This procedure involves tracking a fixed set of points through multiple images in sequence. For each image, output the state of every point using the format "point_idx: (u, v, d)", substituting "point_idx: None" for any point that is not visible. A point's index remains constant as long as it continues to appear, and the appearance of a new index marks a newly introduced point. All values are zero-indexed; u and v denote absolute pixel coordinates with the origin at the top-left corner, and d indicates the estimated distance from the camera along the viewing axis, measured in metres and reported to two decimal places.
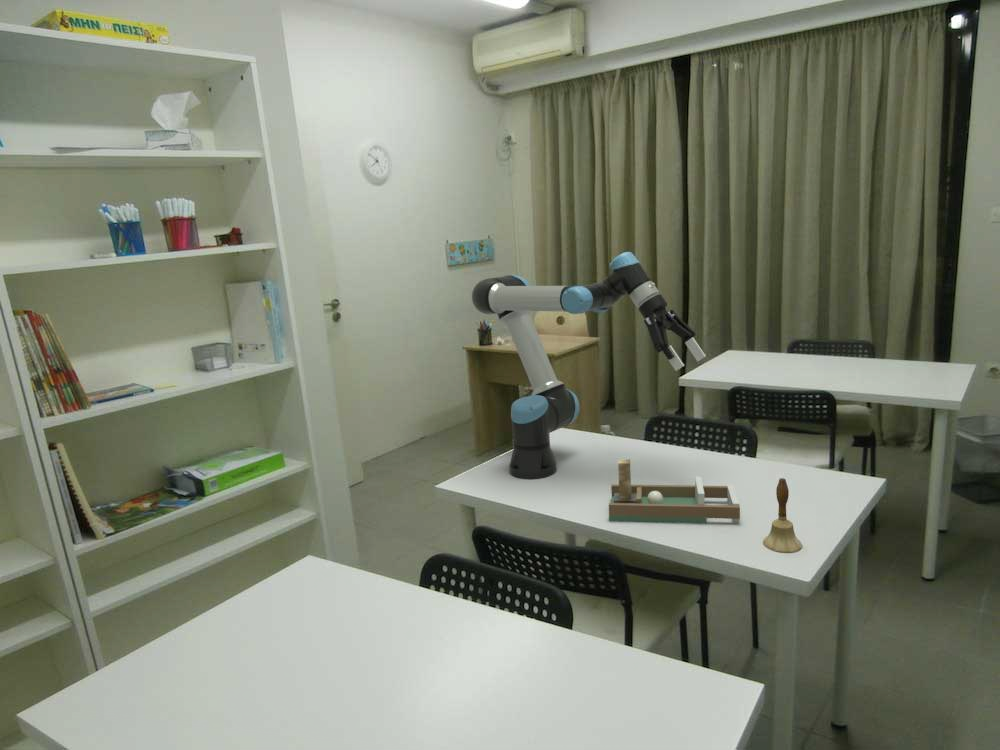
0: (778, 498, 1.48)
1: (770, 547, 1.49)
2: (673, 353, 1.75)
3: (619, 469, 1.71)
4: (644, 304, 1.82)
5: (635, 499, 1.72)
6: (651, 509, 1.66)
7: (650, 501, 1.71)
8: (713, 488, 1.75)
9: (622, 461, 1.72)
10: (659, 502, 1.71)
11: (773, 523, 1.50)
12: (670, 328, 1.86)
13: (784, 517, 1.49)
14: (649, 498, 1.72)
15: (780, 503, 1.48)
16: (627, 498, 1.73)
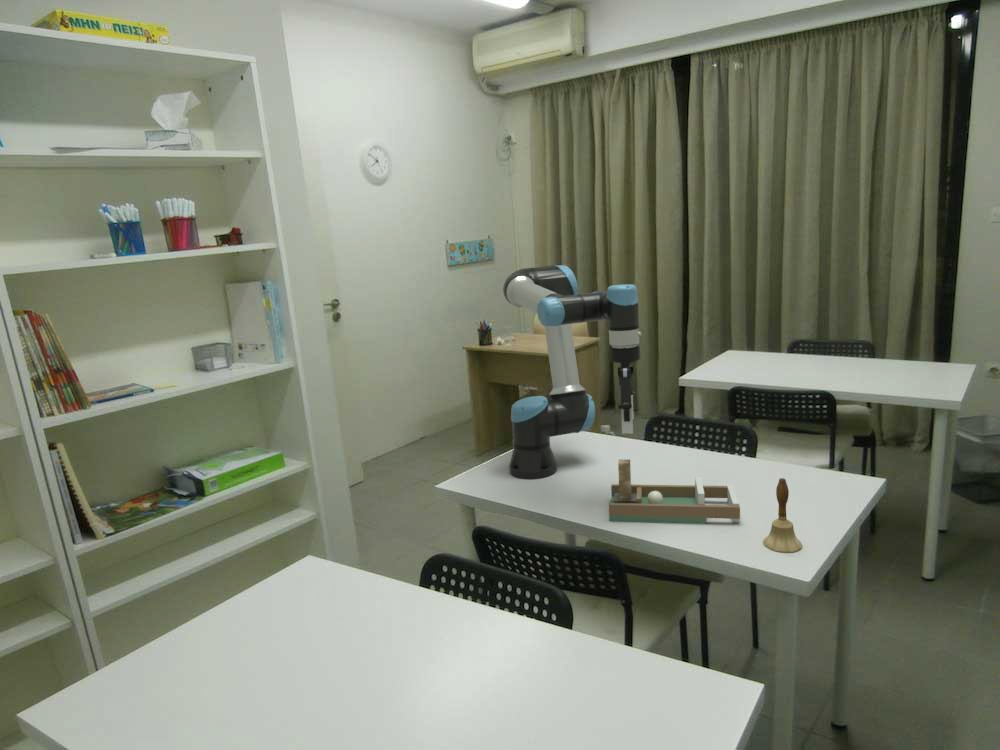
0: (778, 498, 1.48)
1: (770, 547, 1.49)
2: (631, 417, 1.63)
3: (619, 469, 1.71)
4: (625, 351, 1.64)
5: (635, 499, 1.72)
6: (651, 509, 1.66)
7: (650, 501, 1.71)
8: (713, 488, 1.75)
9: (622, 461, 1.72)
10: (659, 502, 1.71)
11: (773, 523, 1.50)
12: None
13: (784, 517, 1.49)
14: (649, 498, 1.72)
15: (780, 503, 1.48)
16: (627, 498, 1.73)
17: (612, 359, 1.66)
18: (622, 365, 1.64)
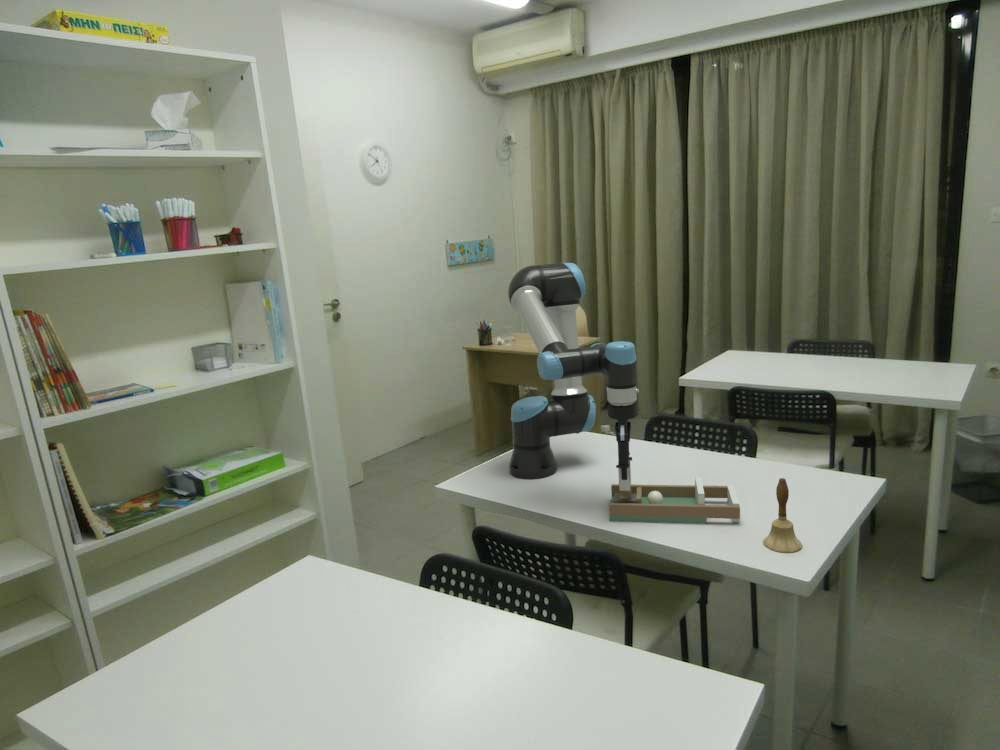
0: (778, 498, 1.48)
1: (770, 547, 1.49)
2: (628, 475, 1.70)
3: None
4: (622, 409, 1.65)
5: (635, 499, 1.72)
6: (651, 509, 1.66)
7: (650, 501, 1.71)
8: (713, 488, 1.75)
9: None
10: (659, 502, 1.71)
11: (773, 523, 1.50)
12: None
13: (784, 517, 1.49)
14: (649, 498, 1.72)
15: (780, 503, 1.48)
16: (627, 498, 1.73)
17: (610, 415, 1.68)
18: (619, 422, 1.66)
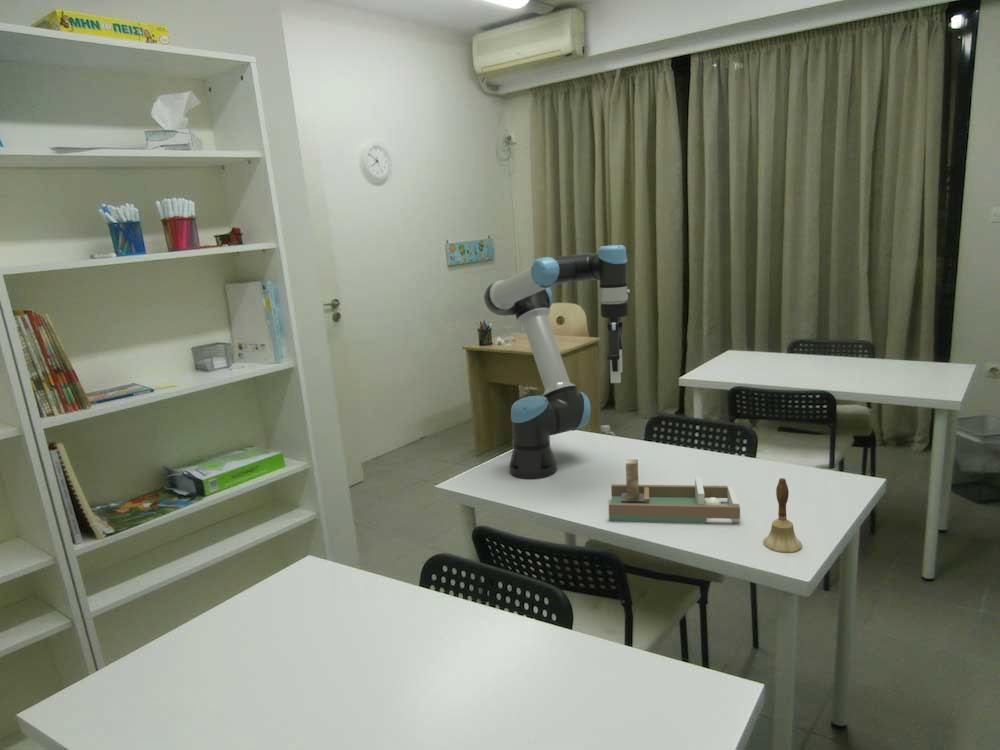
0: (778, 498, 1.48)
1: (770, 547, 1.49)
2: (618, 367, 1.77)
3: (627, 469, 1.71)
4: (614, 307, 1.77)
5: (643, 499, 1.72)
6: (651, 509, 1.66)
7: (710, 504, 1.68)
8: (713, 488, 1.75)
9: (629, 461, 1.72)
10: None
11: (773, 523, 1.50)
12: None
13: (784, 517, 1.49)
14: (711, 501, 1.68)
15: (780, 503, 1.48)
16: (635, 498, 1.72)
17: (602, 314, 1.80)
18: (611, 320, 1.78)
